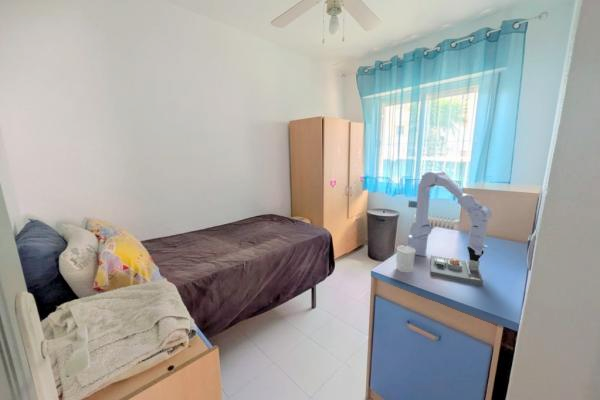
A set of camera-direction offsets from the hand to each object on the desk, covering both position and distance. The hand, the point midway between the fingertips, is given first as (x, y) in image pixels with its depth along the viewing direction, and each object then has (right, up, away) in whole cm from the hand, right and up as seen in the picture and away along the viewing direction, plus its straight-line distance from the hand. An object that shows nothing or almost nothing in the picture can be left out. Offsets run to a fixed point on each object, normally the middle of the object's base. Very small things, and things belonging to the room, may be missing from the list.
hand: (473, 263), depth 108 cm
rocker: (-12, 0, +5) cm, 13 cm away
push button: (-7, -2, +2) cm, 7 cm away
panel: (-7, -4, +3) cm, 8 cm away
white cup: (-28, -4, +5) cm, 29 cm away
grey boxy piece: (-1, -2, -1) cm, 3 cm away
